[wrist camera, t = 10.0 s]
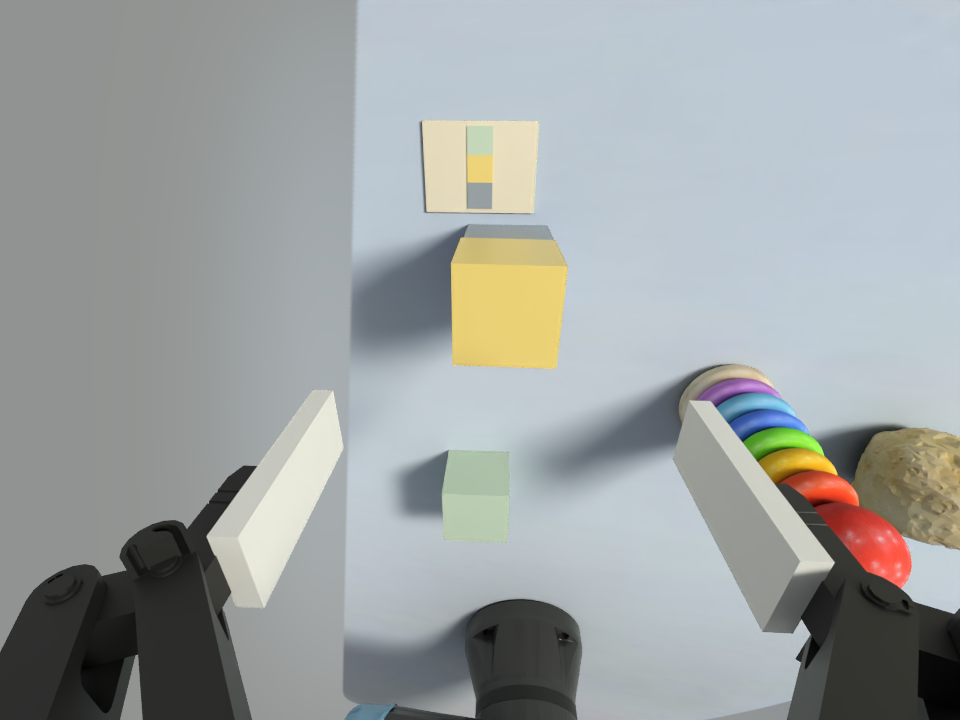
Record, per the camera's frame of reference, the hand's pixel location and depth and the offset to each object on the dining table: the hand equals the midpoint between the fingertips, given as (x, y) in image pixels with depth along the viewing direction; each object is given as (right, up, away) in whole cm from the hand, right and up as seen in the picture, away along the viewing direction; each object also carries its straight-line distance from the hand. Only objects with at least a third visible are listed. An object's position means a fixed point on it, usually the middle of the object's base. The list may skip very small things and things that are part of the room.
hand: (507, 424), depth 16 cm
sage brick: (-1, -9, +29) cm, 30 cm away
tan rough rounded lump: (+38, -6, +25) cm, 46 cm away
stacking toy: (+21, -1, +23) cm, 31 cm away
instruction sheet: (-1, +16, +15) cm, 22 cm away
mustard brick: (+1, +8, +13) cm, 15 cm away
